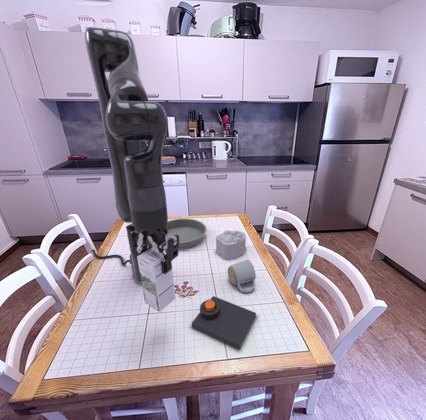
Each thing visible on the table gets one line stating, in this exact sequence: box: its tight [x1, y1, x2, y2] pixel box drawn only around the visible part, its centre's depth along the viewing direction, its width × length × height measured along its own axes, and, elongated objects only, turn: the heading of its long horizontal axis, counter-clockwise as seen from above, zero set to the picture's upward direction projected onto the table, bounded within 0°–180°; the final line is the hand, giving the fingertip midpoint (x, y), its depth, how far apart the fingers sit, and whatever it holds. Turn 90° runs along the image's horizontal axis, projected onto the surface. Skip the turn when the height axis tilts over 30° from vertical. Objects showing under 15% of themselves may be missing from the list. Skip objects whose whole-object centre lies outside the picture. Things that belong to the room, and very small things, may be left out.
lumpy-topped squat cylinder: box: [215, 229, 247, 261], centre depth 103 cm, size 10×13×9 cm
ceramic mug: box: [227, 259, 257, 294], centre depth 83 cm, size 11×8×8 cm
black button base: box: [191, 295, 257, 350], centre depth 69 cm, size 16×12×4 cm
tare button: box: [205, 299, 215, 312], centre depth 70 cm, size 3×3×2 cm
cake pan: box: [160, 218, 208, 250], centre depth 114 cm, size 25×25×4 cm
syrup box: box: [137, 248, 176, 313], centre depth 58 cm, size 6×6×14 cm
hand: (156, 267), depth 57 cm, fingers closed on syrup box, 6 cm apart
